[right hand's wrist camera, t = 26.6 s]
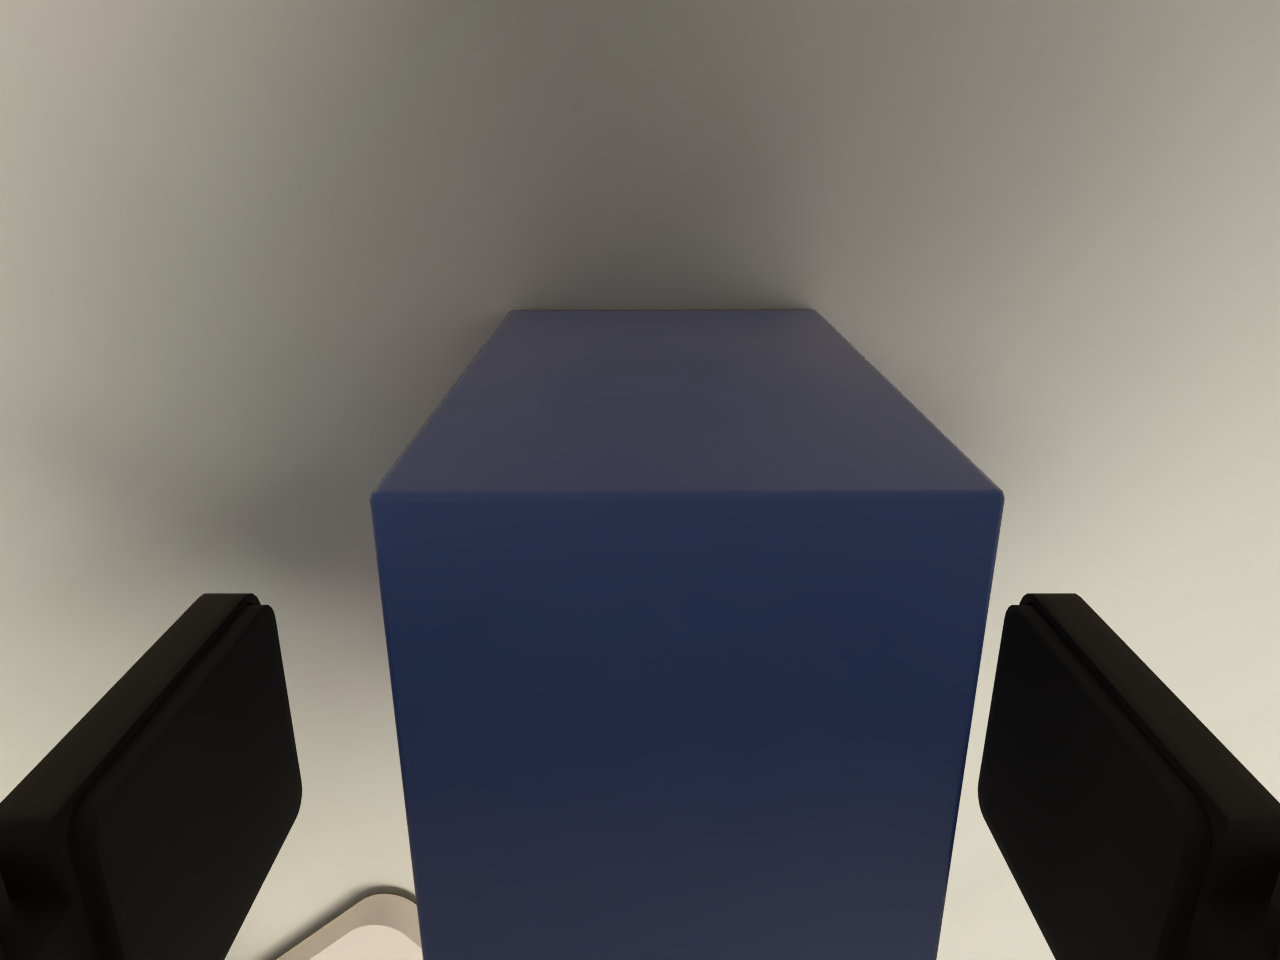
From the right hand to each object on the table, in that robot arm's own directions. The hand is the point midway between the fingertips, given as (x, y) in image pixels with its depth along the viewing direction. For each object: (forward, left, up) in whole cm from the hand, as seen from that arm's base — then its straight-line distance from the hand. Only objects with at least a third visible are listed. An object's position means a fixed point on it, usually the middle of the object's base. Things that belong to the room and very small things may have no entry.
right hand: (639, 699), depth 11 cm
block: (0, 0, -6) cm, 6 cm away
